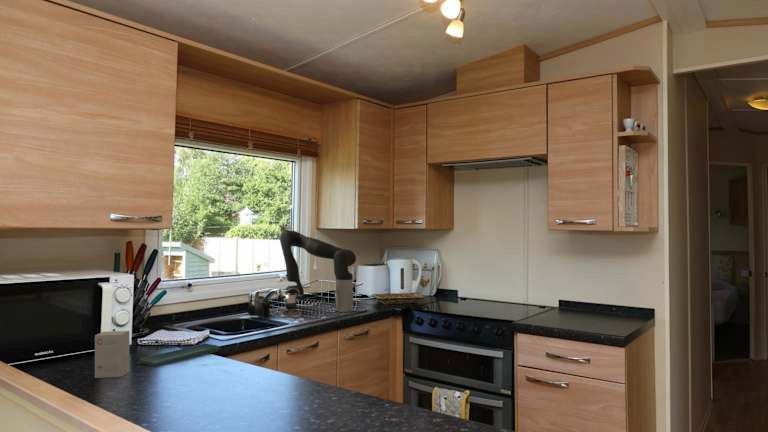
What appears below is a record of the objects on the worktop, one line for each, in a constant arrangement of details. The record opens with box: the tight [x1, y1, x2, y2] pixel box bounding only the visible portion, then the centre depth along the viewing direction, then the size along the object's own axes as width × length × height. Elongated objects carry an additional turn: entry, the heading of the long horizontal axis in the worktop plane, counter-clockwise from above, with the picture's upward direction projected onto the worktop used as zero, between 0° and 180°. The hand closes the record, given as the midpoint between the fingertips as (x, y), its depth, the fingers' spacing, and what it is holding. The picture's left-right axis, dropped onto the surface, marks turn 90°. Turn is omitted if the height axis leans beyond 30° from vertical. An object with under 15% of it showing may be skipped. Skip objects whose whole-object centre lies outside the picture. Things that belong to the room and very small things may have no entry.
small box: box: [94, 330, 131, 379], centre depth 161 cm, size 8×6×13 cm
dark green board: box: [139, 342, 221, 368], centre depth 183 cm, size 26×9×2 cm, turn 146°
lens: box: [285, 294, 298, 312], centre depth 270 cm, size 6×6×10 cm
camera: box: [248, 295, 271, 320], centre depth 267 cm, size 18×9×10 cm, turn 27°
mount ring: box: [281, 309, 301, 316], centre depth 270 cm, size 9×9×2 cm
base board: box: [280, 311, 302, 319], centre depth 270 cm, size 10×10×1 cm
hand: (291, 299), depth 269 cm, fingers open, 8 cm apart
